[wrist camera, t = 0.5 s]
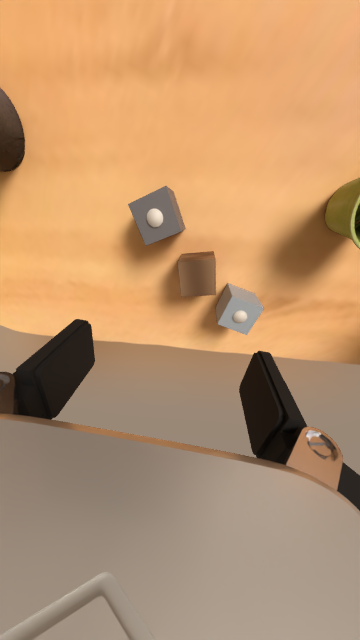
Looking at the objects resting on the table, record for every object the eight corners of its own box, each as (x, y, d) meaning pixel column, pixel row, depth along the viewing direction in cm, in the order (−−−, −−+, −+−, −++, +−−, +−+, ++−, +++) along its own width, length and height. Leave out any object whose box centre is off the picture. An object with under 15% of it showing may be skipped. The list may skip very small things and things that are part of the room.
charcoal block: (173, 191, 27) (165, 185, 21) (185, 228, 29) (181, 231, 23) (142, 206, 28) (127, 204, 23) (155, 240, 30) (145, 246, 25)
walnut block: (213, 251, 30) (215, 259, 25) (213, 281, 32) (215, 294, 27) (182, 253, 31) (177, 262, 25) (184, 283, 33) (181, 296, 28)
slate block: (254, 293, 33) (264, 308, 27) (240, 317, 35) (247, 335, 30) (227, 282, 32) (232, 296, 27) (215, 307, 35) (217, 324, 29)
